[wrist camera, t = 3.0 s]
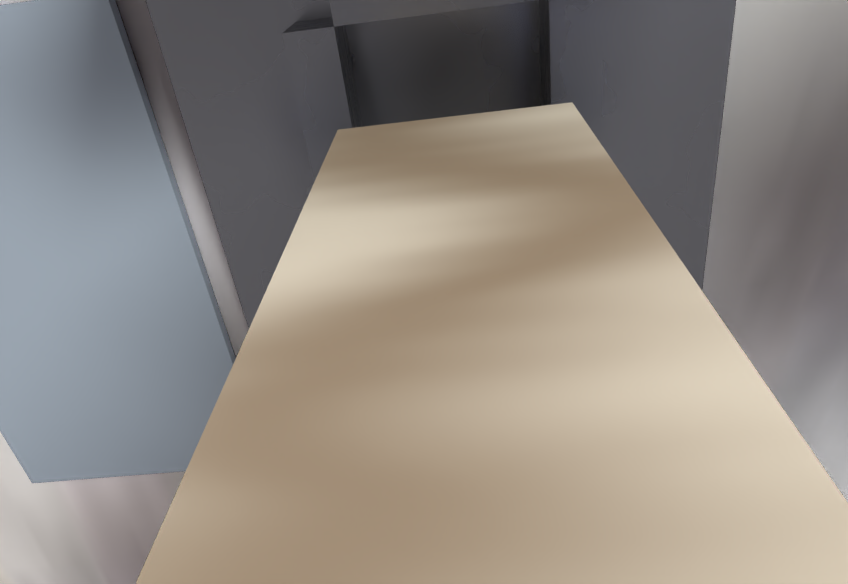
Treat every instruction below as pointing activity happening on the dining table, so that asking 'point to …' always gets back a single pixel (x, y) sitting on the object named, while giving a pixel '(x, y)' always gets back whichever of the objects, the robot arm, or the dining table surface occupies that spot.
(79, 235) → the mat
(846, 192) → the dining table surface
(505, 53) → the rack
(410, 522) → the block
